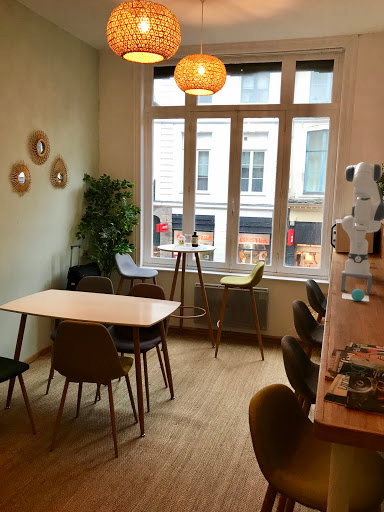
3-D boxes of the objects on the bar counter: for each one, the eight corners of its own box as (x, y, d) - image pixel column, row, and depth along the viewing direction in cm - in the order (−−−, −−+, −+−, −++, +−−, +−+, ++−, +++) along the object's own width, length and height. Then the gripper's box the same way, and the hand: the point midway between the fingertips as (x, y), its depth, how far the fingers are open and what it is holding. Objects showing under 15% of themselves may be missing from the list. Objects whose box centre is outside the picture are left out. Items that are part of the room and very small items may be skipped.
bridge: (341, 290, 253) (342, 272, 252) (370, 293, 248) (372, 275, 247) (340, 291, 250) (342, 273, 249) (370, 294, 245) (372, 276, 244)
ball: (350, 300, 232) (351, 288, 233) (363, 301, 230) (364, 289, 231) (350, 300, 226) (351, 287, 227) (363, 301, 224) (364, 289, 225)
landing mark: (342, 293, 244) (342, 293, 244) (368, 296, 240) (368, 295, 240) (341, 298, 232) (341, 298, 232) (369, 301, 228) (369, 301, 228)
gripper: (355, 224, 267) (353, 248, 269) (355, 226, 248) (353, 252, 250) (367, 225, 265) (364, 249, 267) (367, 227, 246) (365, 253, 248)
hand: (359, 250), depth 258 cm, fingers closed
